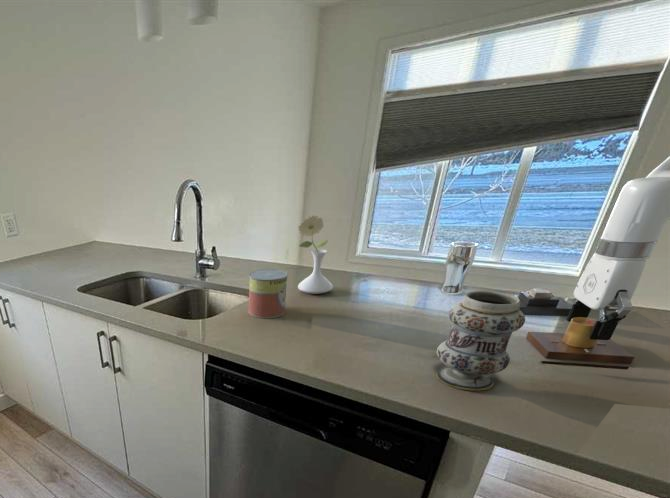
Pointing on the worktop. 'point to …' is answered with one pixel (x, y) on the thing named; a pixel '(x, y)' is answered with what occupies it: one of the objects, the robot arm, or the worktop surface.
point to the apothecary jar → (479, 339)
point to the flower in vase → (316, 280)
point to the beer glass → (458, 266)
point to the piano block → (543, 305)
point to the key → (540, 293)
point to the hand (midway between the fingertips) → (586, 329)
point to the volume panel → (579, 351)
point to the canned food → (267, 293)
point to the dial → (580, 332)
